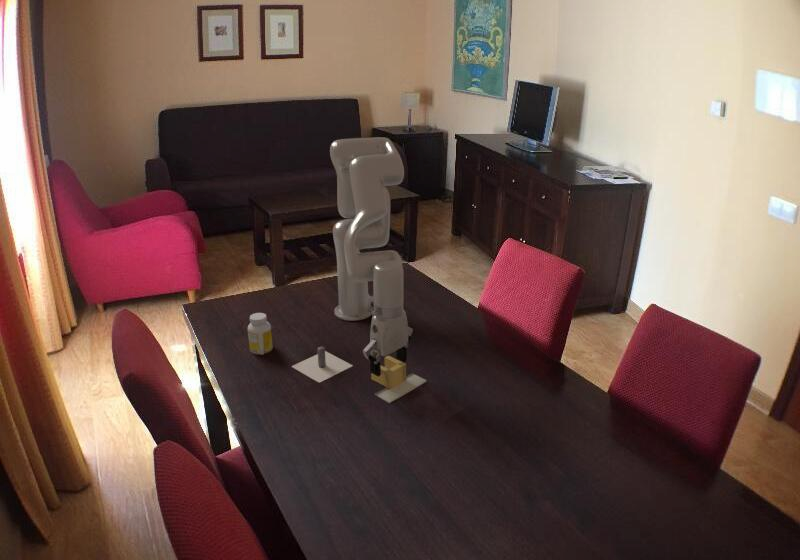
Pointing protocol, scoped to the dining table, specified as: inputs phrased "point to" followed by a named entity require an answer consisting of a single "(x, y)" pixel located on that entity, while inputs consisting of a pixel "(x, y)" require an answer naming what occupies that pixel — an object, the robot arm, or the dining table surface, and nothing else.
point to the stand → (322, 366)
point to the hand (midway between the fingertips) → (388, 367)
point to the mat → (400, 388)
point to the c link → (391, 373)
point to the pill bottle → (259, 334)
